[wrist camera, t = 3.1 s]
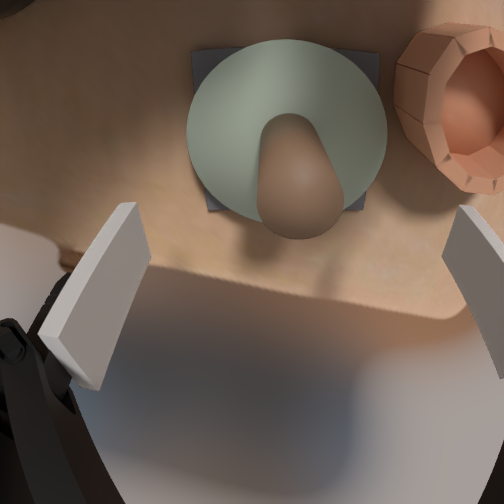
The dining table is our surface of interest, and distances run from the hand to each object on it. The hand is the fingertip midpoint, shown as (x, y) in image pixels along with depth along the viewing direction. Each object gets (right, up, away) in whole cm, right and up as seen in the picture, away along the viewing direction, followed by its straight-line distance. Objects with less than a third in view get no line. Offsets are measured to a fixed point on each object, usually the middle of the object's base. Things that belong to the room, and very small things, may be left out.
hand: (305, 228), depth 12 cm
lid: (0, +7, +8) cm, 11 cm away
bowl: (+13, +11, +5) cm, 18 cm away
